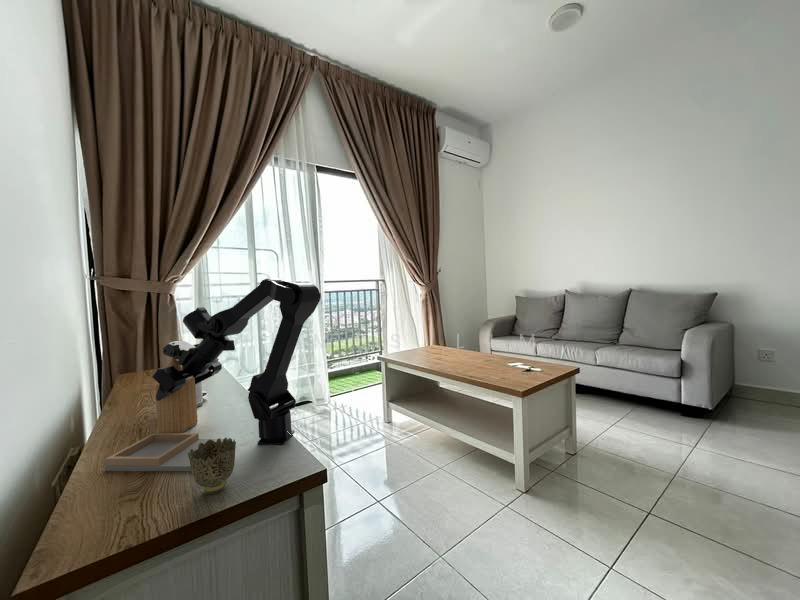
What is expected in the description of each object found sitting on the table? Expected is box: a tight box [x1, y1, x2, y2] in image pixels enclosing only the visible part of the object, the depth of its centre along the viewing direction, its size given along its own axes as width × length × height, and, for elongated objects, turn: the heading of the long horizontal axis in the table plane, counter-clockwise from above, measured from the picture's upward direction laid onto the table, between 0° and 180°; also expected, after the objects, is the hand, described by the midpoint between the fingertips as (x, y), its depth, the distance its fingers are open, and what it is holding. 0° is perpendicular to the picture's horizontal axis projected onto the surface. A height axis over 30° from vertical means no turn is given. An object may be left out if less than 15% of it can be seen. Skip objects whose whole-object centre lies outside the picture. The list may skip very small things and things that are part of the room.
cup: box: [188, 437, 237, 495], centre depth 59 cm, size 8×7×8 cm
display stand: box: [104, 432, 233, 472], centre depth 72 cm, size 20×12×2 cm, turn 86°
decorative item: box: [154, 357, 199, 433], centre depth 86 cm, size 7×7×20 cm
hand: (171, 393), depth 87 cm, fingers open, 9 cm apart
